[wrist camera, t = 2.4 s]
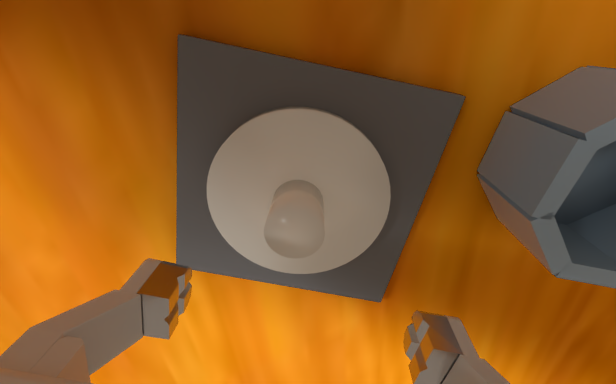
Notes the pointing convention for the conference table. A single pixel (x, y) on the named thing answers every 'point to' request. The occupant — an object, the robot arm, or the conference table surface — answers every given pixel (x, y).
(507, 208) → the bowl
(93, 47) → the conference table surface
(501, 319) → the conference table surface
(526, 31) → the conference table surface
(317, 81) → the mat
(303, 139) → the lid
